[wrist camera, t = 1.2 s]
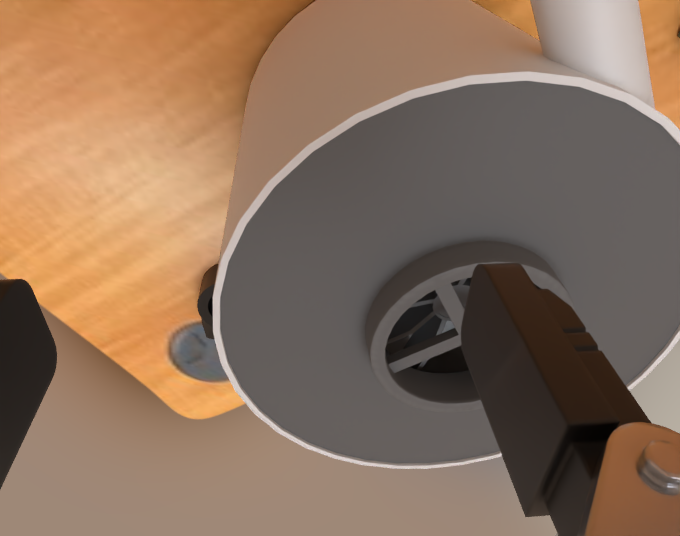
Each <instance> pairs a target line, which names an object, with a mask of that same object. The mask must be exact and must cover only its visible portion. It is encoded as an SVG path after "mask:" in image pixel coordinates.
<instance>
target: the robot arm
mask: <svg viewBox="0 0 680 536" xmlns="http://www.w3.org/2000/svg"><path fill="white" fill-rule="evenodd" d="M461 345H462V351H463V355H464V358H465V361H466V363H467V366H468V368H469V371H470V374H471V376H472V379H473V381H474V384H475V387H476V389H477V392H478V394H479V397H480V400H481V402H482V405H483V407H484V410H485V413H486V415H487V418H488V420H489V423H490V426H491V428H492V431H493V433H494V436H495V439H496V441H497V444H498V446H499V449H500V452H501V454H502V457H503V459H504V462H505V464H506V467H507V470H508V472H509V475H510V478H511V480H512V483H513V485H514V488H515V490H516V493H517V496H518V498H519V501H520V504H521V506H522V509H523V511H524V514H525V517H532V516H545V515H550V516H551V519H552V521H553V523H554V526H555V528H556V530H557V534H556V536H680V434H679V433H677V432H675V431H673V430H671V429H668V428H666V427H663V426H660V425H656V424H652V423H651V422H650V420H649V419H648V418H647V416H646V415H645V413H644V412H643V410H642V409H641V407H640V406H639V405H638V403H637V402H636V400H635V399H634V397H633V396H632V395H631V393H630V391H629V390H628V388H627V387H626V385H625V384H624V383H623V381H622V380H621V378H620V377H619V375H618V374H617V372H616V371H615V369H614V368H613V367H612V365H611V364H610V362H609V361H608V359H607V358H606V356H605V355H604V353H603V352H602V351H599V350H598V345H597V343H596V342H595V340H594V339H593V337H592V336H591V335H590V333H589V332H586V327H585V326H584V324H583V323H582V321H581V320H580V318H579V317H578V316H577V314H576V313H575V311H574V310H573V308H572V307H571V306H570V305H569V304H567V303H566V302H565V301H563V300H562V299H561V298H559V297H558V296H557V295H556V294H554V293H553V292H552V291H550V290H549V289H537V288H536V287H535V285H534V283H533V282H532V280H531V279H530V277H529V276H528V274H527V272H526V271H525V269H524V268H523V266H522V265H521V264H519V263H497V264H478V265H477V266H476V267H475V269H474V271H473V274H472V279H471V283H470V288H469V293H468V297H467V302H466V306H465V311H464V316H463V320H462V325H461ZM56 363H57V352H56V346H55V342H54V339H53V337H52V335H51V332H50V330H49V328H48V325H47V323H46V321H45V318H44V316H43V314H42V311H41V309H40V307H39V304H38V302H37V299H36V297H35V295H34V292H33V290H32V288H31V286H30V285H29V284H28V283H27V282H26V281H25V280H23V279H9V280H0V489H1V487H2V484H3V482H4V480H5V478H6V476H7V474H8V472H9V469H10V467H11V465H12V463H13V461H14V459H15V457H16V455H17V453H18V450H19V448H20V446H21V444H22V442H23V440H24V438H25V436H26V434H27V431H28V429H29V427H30V425H31V423H32V421H33V419H34V417H35V414H36V412H37V410H38V408H39V406H40V404H41V402H42V399H43V397H44V395H45V393H46V391H47V389H48V387H49V385H50V383H51V380H52V378H53V376H54V373H55V369H56Z"/></svg>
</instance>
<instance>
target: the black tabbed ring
mask: <svg viewBox="0 0 680 536" xmlns="http://www.w3.org/2000/svg"><path fill="white" fill-rule="evenodd" d="M217 269H218V264H217V265H215V266H213V267H211V268H210V269H209V270H208V271H207V272H206V273H205V275H204V277H203V279H202V284H201V289H200V294H199V299H198V305H197V306H198V312H199V314H200V316H201V317H202V324H203V327H204V330H205V334H206V337H207V338H210V339H215V338H214V334H213V293H214V287H215V281H216V275H217Z"/></svg>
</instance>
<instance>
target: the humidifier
mask: <svg viewBox="0 0 680 536" xmlns="http://www.w3.org/2000/svg"><path fill="white" fill-rule="evenodd" d="M530 1H531V5H532V9H533V14H534V18H535V22H536V26H537V31H538V35H539V39H540V41H539V40H537V39H536V38H534V37H532V36H531V35H529V34H527V33H525V32H524V31H522V30H520V29H519V28H517V27H515V26H514V25H512V24H510V23H508V22H507V21H505V20H503V19H502V18H500V17H498V16H496V15H495V14H493V13H491V12H490V11H488V10H486V9H484V8H483V7H481V6H479V5H478V4H476V3H474V2H473V1H471V0H316V1H314V2H313V3H312V4H310V5H309V6H307V7H306V8H305V9H303V10H302V11H301V12H299V13H298V14H297V15H295V16H294V17H293V18H292V19H291V20H290V22H289V23H288V24H287V25H286V26H285V27H284V28H283V29H282V30H281V31H280V32H279V33H278V34H277V35H276V36H275V38H274V40H273V41H272V43H271V44H270V46H269V47H268V49H267V50H266V52H265V54H264V55H263V57H262V58H261V60H260V62H259V65H258V67H257V70H256V72H255V75H254V77H253V79H252V82H251V84H250V89H249V94H248V98H247V103H246V108H245V113H244V119H243V125H242V131H241V136H240V142H239V148H238V154H237V160H236V165H235V171H234V177H233V183H232V188H231V194H230V200H229V206H228V212H227V217H226V223H225V229H224V235H223V240H222V246H221V252H220V258H219V264H218V269H217V275H216V281H215V287H214V293H213V334H214V338H215V342H216V346H217V350H218V354H219V358H220V362H221V365H222V367H223V368H224V370H225V372H226V374H227V376H228V378H229V380H230V382H231V384H232V386H233V388H234V389H235V391H236V392H237V394H238V395H239V396H240V397H241V398H242V400H243V401H244V402H245V403H246V404H247V405H248V406H249V408H250V409H251V410H252V411H253V413H255V414H256V415H257V416H258V417H259V418H260V419H262V420H263V421H264V422H265V423H266V424H268V425H269V426H270V427H271V428H273V429H274V430H275V431H276V432H278V433H279V434H281V435H283V436H285V437H287V438H288V439H290V440H292V441H294V442H295V443H297V444H299V445H301V446H303V447H305V448H307V449H310V450H313V451H315V452H318V453H321V454H323V455H326V456H329V457H331V458H335V459H339V460H343V461H347V462H352V463H356V464H361V465H366V466H376V467H385V468H395V469H408V468H409V469H414V468H415V469H417V468H419V469H421V468H422V469H423V468H425V469H428V468H437V467H447V466H456V465H463V464H469V463H473V462H478V461H483V460H488V459H493V458H497V457H500V456H502V454H501V452H500V449H499V446H498V444H497V441H496V439H495V436H494V433H493V431H492V428H491V426H490V423H489V420H488V418H487V415H486V413H485V410H484V407H483V405H482V402H481V400H480V397H479V394H478V392H477V389H476V387H475V384H474V381H473V379H472V376H471V374H470V371H469V368H468V366H467V363H466V361H465V358H464V355H463V351H462V345H461V325H462V320H463V316H464V311H465V306H466V302H467V297H468V293H469V288H470V283H471V279H472V274H473V271H474V269H475V267H476V266H477V265H478V264H497V263H519V264H521V265H522V266H523V268H524V269H525V271H526V272H527V274H528V276H529V277H530V279H531V280H532V282H533V283H534V285H535V287H536V288H537V289H549V290H550V291H552V292H553V293H554V294H556V295H557V296H558V297H559V298H561V299H562V300H563V301H565V302H566V303H567V304H569V305H570V306H571V307H572V308H573V310H574V311H575V313H576V314H577V316H578V317H579V318H580V320H581V321H582V323H583V324H584V326H585V327H586V332H589V333H590V335H591V336H592V337H593V339H594V340H595V342H596V343H597V345H598V350H599V351H602V352H603V353H604V355H605V356H606V358H607V359H608V361H609V362H610V364H611V365H612V367H613V368H614V369H615V371H616V372H617V374H618V375H619V377H620V378H621V380H622V381H623V383H624V384H625V385H626V387H627V388H628V390H631V389H632V388H633V387H634V386H635V385H637V384H638V383H639V382H640V381H641V380H642V379H644V378H645V377H646V376H647V375H648V374H649V373H650V372H651V371H652V370H653V369H654V368H655V367H656V365H658V363H659V362H660V361H661V360H662V359H663V358H664V357H665V356H666V355H667V354H668V353H669V352H670V350H671V349H672V348H673V347H674V346H675V344H676V343H677V341H678V340H679V338H680V130H679V129H678V128H677V127H676V126H675V124H674V123H673V122H672V121H671V120H670V119H669V118H667V117H666V116H664V115H663V114H661V113H660V112H658V111H656V110H655V105H654V99H653V93H652V86H651V80H650V73H649V67H648V60H647V54H646V47H645V41H644V35H643V28H642V22H641V15H640V9H639V2H638V0H530Z"/></svg>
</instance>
